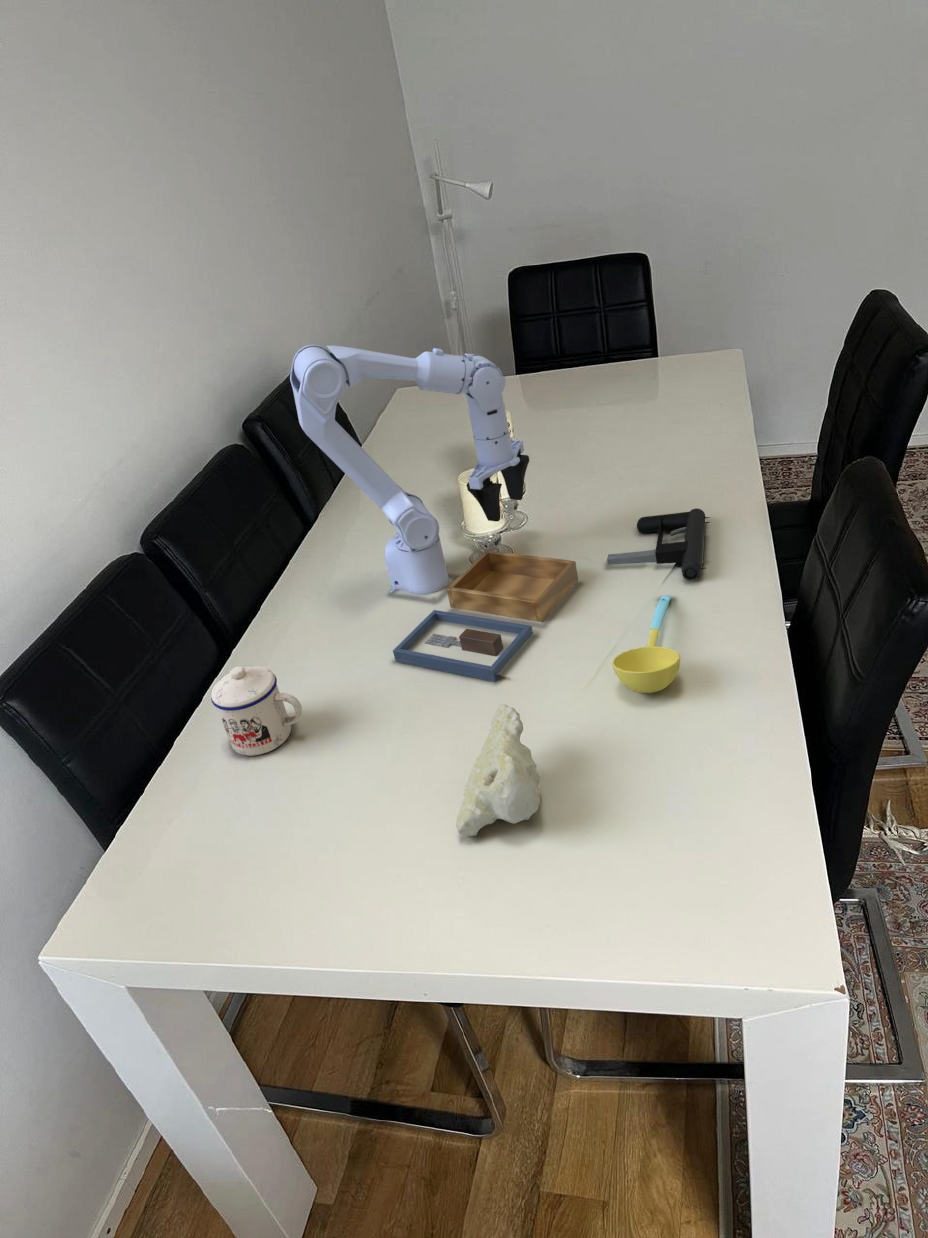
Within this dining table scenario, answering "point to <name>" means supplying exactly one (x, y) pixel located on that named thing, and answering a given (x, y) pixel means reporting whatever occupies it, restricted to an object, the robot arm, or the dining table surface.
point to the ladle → (648, 660)
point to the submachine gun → (677, 552)
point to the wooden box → (513, 585)
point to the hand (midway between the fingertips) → (505, 509)
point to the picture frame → (460, 666)
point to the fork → (471, 642)
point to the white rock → (500, 778)
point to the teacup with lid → (254, 710)
